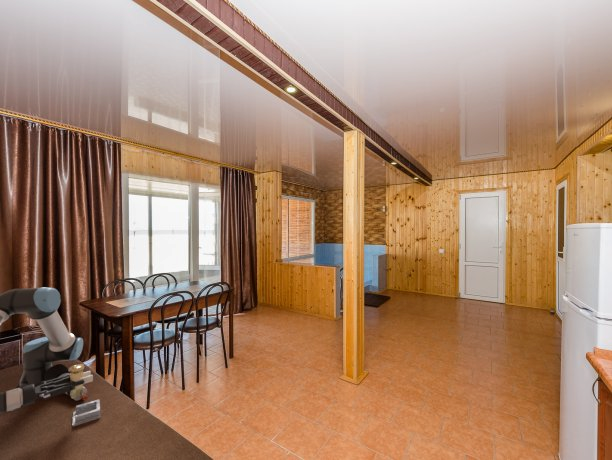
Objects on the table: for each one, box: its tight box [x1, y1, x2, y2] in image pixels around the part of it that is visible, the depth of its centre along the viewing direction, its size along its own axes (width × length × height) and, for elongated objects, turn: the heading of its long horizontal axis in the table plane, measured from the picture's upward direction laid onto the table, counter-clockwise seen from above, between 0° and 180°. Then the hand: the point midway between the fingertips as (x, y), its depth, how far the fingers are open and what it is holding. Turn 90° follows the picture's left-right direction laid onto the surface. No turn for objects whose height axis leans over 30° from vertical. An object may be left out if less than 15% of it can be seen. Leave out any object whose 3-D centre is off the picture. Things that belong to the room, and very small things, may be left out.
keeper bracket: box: [71, 399, 101, 427], centre depth 136 cm, size 11×10×4 cm
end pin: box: [68, 363, 85, 400], centre depth 133 cm, size 6×6×13 cm
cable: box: [44, 363, 89, 401], centre depth 154 cm, size 10×34×10 cm, turn 57°
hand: (91, 375), depth 137 cm, fingers closed on end pin, 4 cm apart
